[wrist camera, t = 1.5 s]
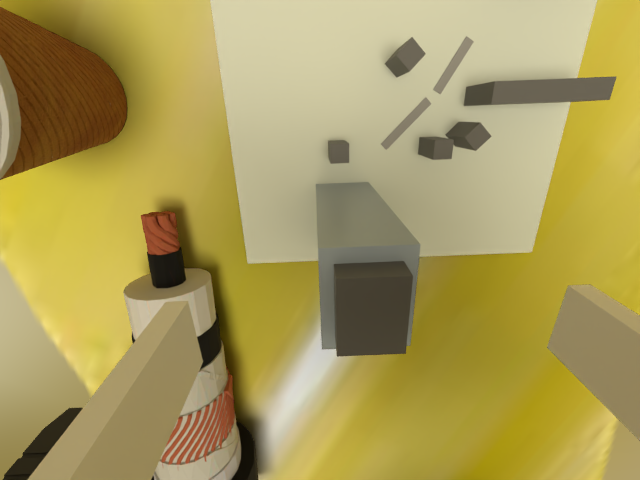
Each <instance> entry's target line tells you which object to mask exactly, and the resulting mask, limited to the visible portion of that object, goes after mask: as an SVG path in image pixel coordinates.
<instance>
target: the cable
mask: <svg viewBox="0 0 640 480" xmlns="http://www.w3.org/2000/svg"><path fill="white" fill-rule="evenodd" d="M141 219H142V225H143V230H144V233H145V238H146V243H147V249H148V252H147V255H148V261H149V267H150V273H151V274H148V275H145V276H142V277H140V278H138V279H137V280H135V281H133V282H131V283H130V284H129V285H128V286H126V287H125V290H124V297H125V301H126V306H127V310H128V315H129V319H130V323H131V328H132V341H133V343H134V342H135V341H136V339H137V338H138V337H139V335H140V334H141V333H142V332H143V330H144V329H145V328H146V326H147V325H148V324H149V323H150V321H151V320H152V319H153V317H154V316H155V315H156V314H157V312H158V311H159V310H160V308H161V307H162V306H163V305H164V303H165V302H174V301H188V303H189V307H190V311H191V315H192V319H193V323H194V327H195V331H196V335H197V339H198V343H199V347H200V351H201V355H202V359H203V363H202V365H201V368H200V370H199V372H198V374H197V377H196V379H195V381H194V384H193V386H192V388H191V390H190V393H189V395H188V397H187V399H186V402H185V404H184V406H183V408H182V411H181V413H180V415H179V418H178V420H177V422H176V424H175V427H174V429H173V431H172V433H171V436H170V438H169V440H168V442H167V445H166V447H165V449H164V452H163V454H162V456H161V458H160V461H159V463H158V465H157V467H156V470H155V472H154V474H153V477H152V479H151V480H258V473H257V463H256V453H255V443H254V440H253V438H252V436H251V434H250V432H249V431H248V430H247V429H246V428H245V427H244V426H243V425H242V424H241V423H240V422H237V421H236V417H235V412H234V405H233V404H234V397H233V388H232V381H233V377H232V375H230V372H229V371H228V368H227V367H226V364H225V356H224V347H223V342H222V340H221V337H220V329H219V320H218V315H217V313H216V311H215V304H214V296H213V288H212V280H211V274H210V273H209V272H208V271H206V270H203V269H200V268H184V263H183V256H182V250H181V247H180V243H179V241H178V240H177V239H178V231H177V229H176V227H177V222H176V216H175V213H174V212H171V211H164V212H151V213H149V214H143V215H141Z"/></svg>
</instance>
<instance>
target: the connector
mask: <svg viewBox="0 0 640 480" xmlns="http://www.w3.org/2000/svg"><path fill="white" fill-rule="evenodd" d="M316 204H317V235H318V262H319V287H320V311H321V336H322V349H336V351H337V356H358V355H382V354H406V346H410V343H411V333H412V324H413V314H414V304H415V294H416V284H417V275H418V265H419V255H420V245H421V244H420V243H419V242H418V241H417V239H416V238H415V237H414V236H413V235H412V233H411V232H410V231H409V230H408V229H407V227H406V226H405V225H404V224H403V223H402V221H401V220H400V219H399V218H398V217H397V216H396V214H395V213H394V212H393V211H392V210H391V208H390V207H389V206H388V205H387V204H386V202H385V201H384V200H383V199H382V198H381V196H380V195H379V194H378V193H377V192H376V190H375V189H374V188H373V187H372V186H371V184H370V183H369V182H355V183H329V184H316Z"/></svg>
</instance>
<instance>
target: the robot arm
mask: <svg viewBox="0 0 640 480" xmlns="http://www.w3.org/2000/svg"><path fill="white" fill-rule="evenodd" d="M547 348H548V349H549V350H550V351H551V352H552V353H553V354H554V355H555V356H556V357H557V358H558V359H559V360H560V361H561V362H562V363H563V364H564V365H565V366H566V367H567V368H568V369H569V370H570V371H571V372H572V373H573V374H574V375H575V376H576V377H577V378H578V379H579V380H580V381H581V382H582V383H583V384H584V385H585V386H586V387H587V388H588V389H589V390H590V391H591V392H592V393H593V394H594V395H595V396H596V397H597V398H598V399H599V400H600V401H601V402H602V403H603V404H604V405H605V406H606V407H607V408H608V409H609V410H610V411H611V412H612V413H613V414H614V415H615V416H616V418H617V419H618V420H619V421H620V422H621V423H622V424H623V425H624V426H625V427H626V428H627V429H628V430H629V431H630V432H631V433H632V434H633V435H634V436H635V437H636V438H637V439H638V440H639V441H640V315H638V314H636V313H635V312H633V311H632V310H630V309H628V308H627V307H625V306H624V305H622V304H620V303H619V302H617V301H616V300H614V299H612V298H611V297H609V296H608V295H606V294H604V293H603V292H601V291H600V290H598V289H596V288H595V287H593V286H592V285H569V286H568V288H567V291H566V293H565V296H564V299H563V302H562V305H561V308H560V311H559V314H558V317H557V320H556V323H555V326H554V329H553V332H552V335H551V337H550V340H549V343H548V346H547ZM202 363H203V359H202V355H201V351H200V347H199V343H198V339H197V335H196V331H195V327H194V323H193V319H192V315H191V311H190V307H189V303H188V301H174V302H165V303H164V305H163V306H162V307H161V308H160V310H159V311H158V312H157V314H156V315H155V316H154V317H153V319H152V320H151V321H150V323H149V324H148V325H147V326H146V328H145V329H144V330H143V332H142V333H141V334H140V335H139V337H138V338H137V339H136V341H135V342H134V343H133V345H132V346H131V347H130V348H129V350H128V351H127V352H126V354H125V355H124V356H123V357H122V359H121V360H120V361H119V363H118V364H117V365H116V366H115V368H114V369H113V370H112V372H111V373H110V374H109V375H108V377H107V378H106V379H105V381H104V382H103V383H102V384H101V386H100V387H99V388H98V390H97V391H96V392H95V393H94V395H93V396H92V397H91V399H90V400H89V401H88V402H87V404H86V405H85V406H84V408H69V409H68V410H66V411H65V412H64V413H63V414H62V415H60V416H59V417H58V418H57V419H55V420H54V421H53V422H51V423H50V424H49V425H48V426H47V427H45V428H44V429H43V430H42V431H41V433H40V434H39V435H38V436H37V437H36V438H35V440H34V441H33V442H32V443H31V444H30V445H29V447H28V448H27V449H26V450H25V452H23V456H22V458H19V459H18V460H17V461H16V462H15V463H14V464H13V466H12V467H11V468H10V469H9V470H8V471H7V473H6V474H5V475H4V479H3V480H151V479H152V477H153V474H154V472H155V470H156V467H157V465H158V463H159V461H160V458H161V456H162V454H163V452H164V449H165V447H166V445H167V442H168V440H169V438H170V436H171V433H172V431H173V429H174V427H175V424H176V422H177V420H178V418H179V415H180V413H181V411H182V408H183V406H184V404H185V402H186V399H187V397H188V395H189V393H190V390H191V388H192V386H193V384H194V381H195V379H196V377H197V374H198V372H199V370H200V368H201V365H202Z"/></svg>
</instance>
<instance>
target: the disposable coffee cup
mask: <svg viewBox="0 0 640 480" xmlns="http://www.w3.org/2000/svg"><path fill="white" fill-rule="evenodd" d="M126 117H127V103H126V97H125V93H124V90H123V87H122V85H121V83H120V81H119V79H118V77H117V76H116V75H115V73H114V72H113V71H112V69H111V68H110V67H109V66H108V65H107V64H106V63H105V62H104V61H103V60H102V59H101V58H100V57H99V56H97V55H96V54H95V53H93V52H91V51H89V50H87V49H85V48H83V47H81V46H79V45H77V44H75V43H73V42H71V41H69V40H67V39H65V38H63V37H61V36H59V35H57V34H55V33H53V32H50V31H48V30H46V29H44V28H42V27H41V26H39V25H37V24H34V23H32V22H30V21H28V20H27V19H24V18H22V17H20V16H18V15H16V14H13V13H11V12H9V11H7V10H5V9H3V8H1V7H0V180H1V179H4V178H7V177H9V176H13V175H15V174H18V173H21V172H24V171H27V170H29V169H32V168H35V167H38V166H41V165H44V164H46V163H49V162H52V161H55V160H58V159H61V158H63V157H67V156H69V155H72V154H75V153H78V152H80V151H83V150H86V149H89V148H92V147H95V146H98V145H101V144H104V143H107V142H109V141H111V140H112V139H113V138H115V137H116V136H117V135H118V134H119V133H120V131H121V130H122V128H123V126H124V124H125V121H126Z"/></svg>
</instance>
